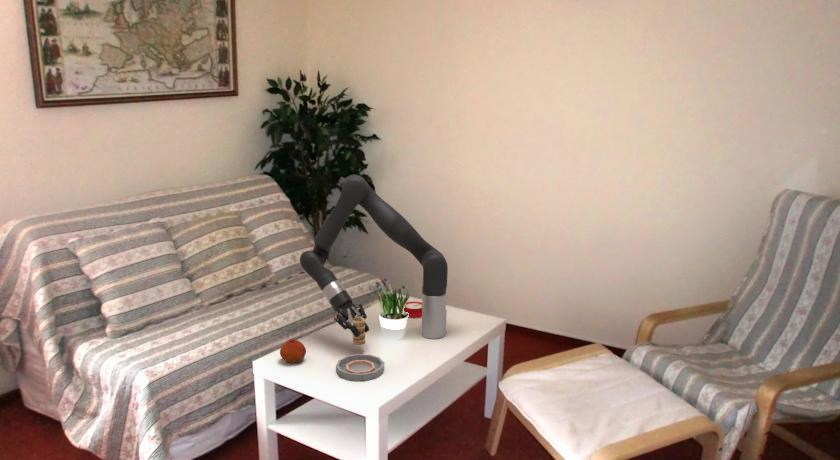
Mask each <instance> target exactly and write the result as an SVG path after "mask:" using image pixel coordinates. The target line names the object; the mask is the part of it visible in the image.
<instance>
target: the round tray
mask: <svg viewBox="0 0 840 460" xmlns="http://www.w3.org/2000/svg"><path fill="white" fill-rule="evenodd" d="M384 368H385V361H384V360H383V359H382V358H380V357H378V356H376V355H372V354H368V353H367V354H366V353H364V354H363V353H355V354H351V355H346V356H344V357H342V358H340V359H339V360H338V361H337V363H336V365H335V370H336V374H337V375H338V376H339V378H342V379H344V380H346V381H352V382H366V381H370V380H374V379H377V378H378V377H380V376H381V375H382V374H383V373H384V371H385V370H384Z"/></svg>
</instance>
